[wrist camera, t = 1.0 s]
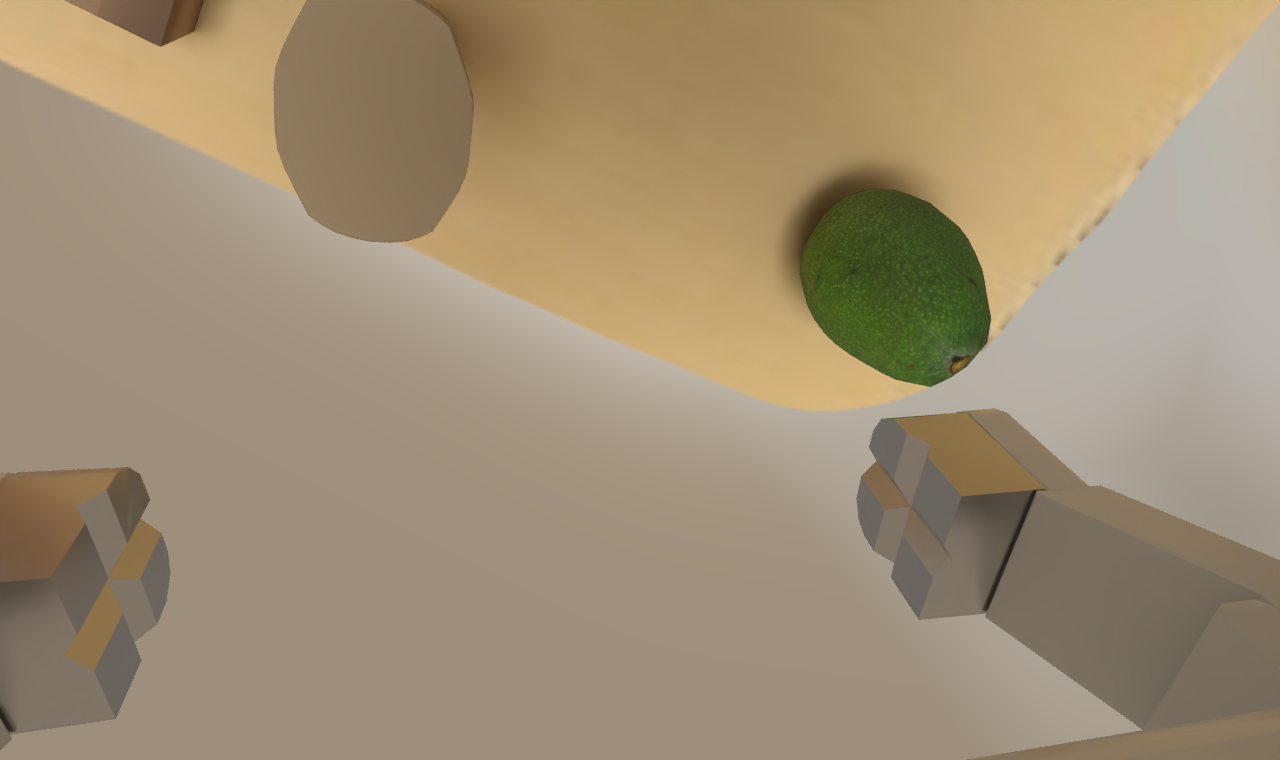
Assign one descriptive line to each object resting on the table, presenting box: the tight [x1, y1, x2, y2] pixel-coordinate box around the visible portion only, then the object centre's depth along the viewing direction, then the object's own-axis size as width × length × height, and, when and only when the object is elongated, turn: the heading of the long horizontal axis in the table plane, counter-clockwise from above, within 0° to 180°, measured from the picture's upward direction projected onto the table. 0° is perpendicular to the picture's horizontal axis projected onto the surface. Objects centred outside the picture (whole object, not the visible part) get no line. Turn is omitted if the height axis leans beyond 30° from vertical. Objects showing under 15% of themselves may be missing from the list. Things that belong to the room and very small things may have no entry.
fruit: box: [800, 189, 991, 387], centre depth 36 cm, size 8×8×12 cm
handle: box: [274, 0, 473, 243], centre depth 26 cm, size 5×6×15 cm
